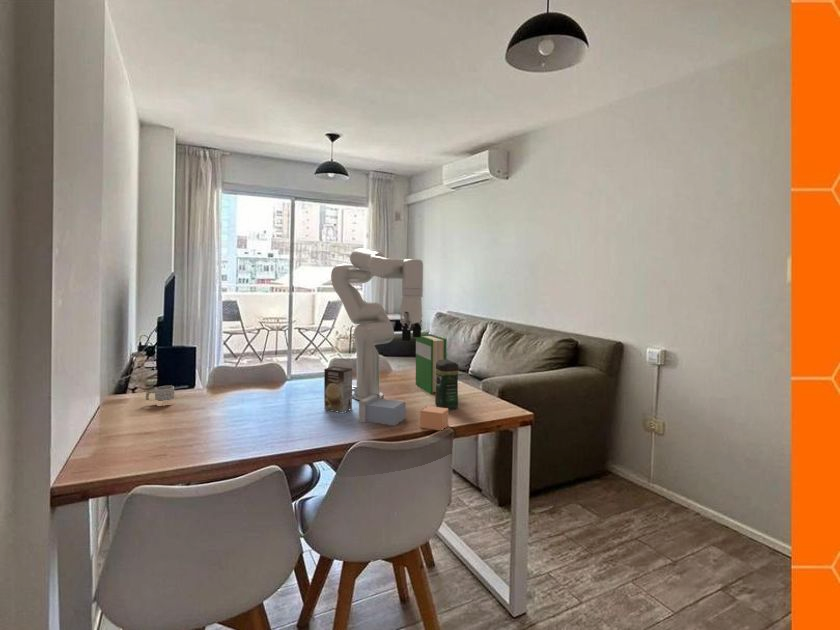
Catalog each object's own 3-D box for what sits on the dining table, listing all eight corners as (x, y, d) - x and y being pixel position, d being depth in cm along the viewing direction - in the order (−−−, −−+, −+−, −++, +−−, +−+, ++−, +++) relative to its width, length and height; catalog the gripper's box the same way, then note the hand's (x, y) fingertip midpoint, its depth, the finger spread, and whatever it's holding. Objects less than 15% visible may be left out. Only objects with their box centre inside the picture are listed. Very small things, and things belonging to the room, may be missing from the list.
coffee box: (323, 410, 174) (323, 368, 172) (333, 405, 180) (333, 365, 178) (343, 413, 170) (343, 371, 169) (353, 408, 176) (352, 367, 174)
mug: (176, 401, 184) (175, 385, 184) (173, 405, 178) (172, 389, 178) (148, 403, 181) (147, 386, 181) (143, 408, 175) (143, 391, 174)
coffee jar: (461, 409, 176) (461, 361, 175) (442, 411, 173) (442, 363, 172) (450, 402, 185) (451, 357, 184) (432, 404, 182) (433, 358, 181)
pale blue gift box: (357, 421, 161) (357, 401, 160) (372, 412, 171) (372, 393, 170) (393, 426, 156) (393, 406, 155) (406, 417, 166) (406, 398, 165)
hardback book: (446, 392, 201) (446, 338, 199) (430, 394, 198) (431, 339, 196) (430, 383, 217) (430, 333, 215) (415, 385, 214) (416, 334, 212)
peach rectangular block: (420, 427, 155) (420, 410, 154) (426, 422, 160) (426, 405, 160) (442, 430, 152) (442, 413, 151) (448, 425, 157) (448, 408, 157)
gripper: (412, 291, 177) (411, 335, 179) (393, 293, 161) (392, 341, 163) (430, 292, 174) (429, 336, 176) (412, 294, 158) (411, 342, 160)
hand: (411, 338), depth 169 cm, fingers open, 9 cm apart
